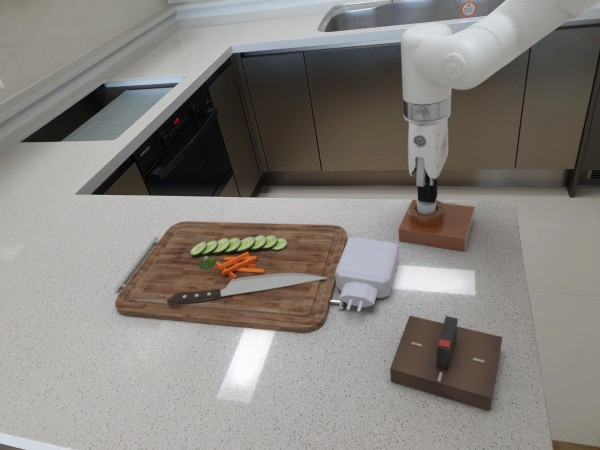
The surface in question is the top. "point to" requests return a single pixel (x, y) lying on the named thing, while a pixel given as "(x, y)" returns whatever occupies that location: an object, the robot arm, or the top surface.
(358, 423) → the top surface
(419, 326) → the brown flat block
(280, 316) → the chopping board
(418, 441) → the top surface
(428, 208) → the round grey push button
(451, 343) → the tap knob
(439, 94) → the robot arm
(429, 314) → the top surface
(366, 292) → the charger
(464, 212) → the brown base with collar
